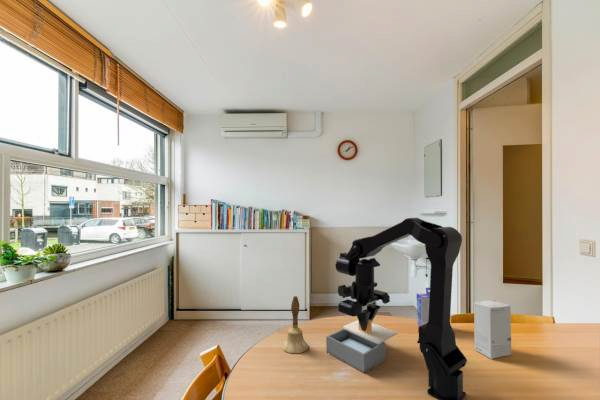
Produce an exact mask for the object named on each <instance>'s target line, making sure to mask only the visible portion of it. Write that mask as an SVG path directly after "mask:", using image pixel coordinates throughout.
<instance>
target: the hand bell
mask: <svg viewBox="0 0 600 400" xmlns="http://www.w3.org/2000/svg"><path fill="white" fill-rule="evenodd" d="M290 309H291V310H290V311H291V314H292V325H291V327H290V328H288V332H287V336H286V340H285V341H284V342H283V344H282V347H281V348H282V350H283V351H284V352H286V353H288V354H295V355H296V354H301V353H305V352H307V351H308V349H309V344H308V343H307V341H305V339H304V335H303V329H302V328H300V327H298V326H299V323H298V322H299V321H298V318H299V314H300V313H299V311H300V301H299V297H298V296H297V295H294V296H293V297H292V301H291V306H290Z"/></svg>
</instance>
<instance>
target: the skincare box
mask: <svg viewBox="0 0 600 400" xmlns="http://www.w3.org/2000/svg"><path fill="white" fill-rule="evenodd" d="M473 311H474V312H473V317H474V321H473V322H474V323H473V325H474V328H473V329H474V330H473V331H474V339H473V340H474V350H475V351H476V352H478V353H480V354H482V355H483V356H485V357H487V358H488V359H489V360H490V359H491V360H493V359H496V358H497V359H498V358H500V357H507V356H512V324H511V323H512V322H511V316H512V315H511V314H512V313H511V305H510V304H507V303H503V302H501V301H497V300H494V299H493V300H482V301H474V302H473Z"/></svg>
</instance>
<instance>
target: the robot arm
mask: <svg viewBox="0 0 600 400" xmlns="http://www.w3.org/2000/svg"><path fill="white" fill-rule="evenodd" d="M410 236H412V237H413V238H414V239H415V240H416V241H417V242H419V243H421V244H423V245H424V247H425V253H426V256H427V258H428V260H429V262H430V276H429V277H430V278H429V279H430V280H429V288H430V290H429V292H430V296H429V317H428V323H426V324H424V325H422V326H420V327H419V328H418V339H417V341H416V343H417V344H419V351H420V353H421V354H422V356H423V358H424V363H425V366H426V368H427V372H428V387H429V388H428V389H427V390H426V391H427V392H426V393H427V394H429V395H430V396H432V397H434V398H436V399H438V400H464V398H465V397H466V395H467V393H466V391H464V378H463V377H464V374H463V373H464V371H463V370H461V369H462V368H464V367H465V366H466V364H467V362H468V359H467V357H466V356H465V355H464V354H463V352H462V350H461V349H460V348H459V347H458V346H457V343H456V335H455V331H454V329H453V327H452V325H451V311H452V310H451V307H452V292H453V291H452V290H453V289H452V288H453V273H454V272H453V269H454V264H455V262H456V260H457V258H458V256H459V254H460V251H461V245H462V243H463V236H462V234H461V232H459V231H458V229H456V228H454V227H452V226H442V225H439V224H436V223H432V222H429V221H426V220H424V219H421V218H419V217H407V218H404V220H402V221H401V222H398V223H397V224H395V225H393V226H391V227H388V228H386V229H384V230H383V231H380V232H378V233H376V234H375V235H371V236H367V237H362V238H357V239H355V240H353V241H352V244H351V247H350V249H349V251H348V252H340V253H339V257H338V258H337V260H336V262H335V265H334V266H335V270H336V271H337V272H338V273H341V274H343V275H346V276H347V275H348V276H350V277H355V278H354V279H355V280H354V281H352V283H351V285H348V286H346V285H345V284H342V285H338V286H337V294H338V296H339V297H342V299H345V300H342V301H340V302H339V303H338V306H337V307H338V312H340V313H342V314H345V315H348V316H350V317H356V318H357V320H359V323H360V326H361V329H362V330H363V331H365V330H366V327H367V323H368V319H370V320H372V322H373V321H374V318H375V317H376V315H377V313H378V311H379V309H381V306H380V305H378V304H377V302H378V301H379V300H381V302H382V303H383V304H385V305H386V304H388V303H390V302H391V301H390V299H391V298H390V294H389V293H388V292H386V291H382V290H379V289H375V288H376V287H378V282H375V268H377V267H380V266H381V263H379V261H378V260H376V258H375V257H374V256H376V255H378V253H380V252H381V251H382V250H383V248H385V247H386V246H390V245H391V244H393V243H396V242H398V241H400V240H403V239H406V238H408V237H410ZM368 257H372V258H369V259H366V258H368ZM349 297H350V299H346V298H349Z"/></svg>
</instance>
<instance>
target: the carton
mask: <svg viewBox="0 0 600 400" xmlns="http://www.w3.org/2000/svg"><path fill="white" fill-rule="evenodd" d="M325 342H326V343H325V345H326V354H328V353H329V354H328V355H330V356H332V357H334V358H335V359H337V360H339V361H341V362H342V363H344V364H346V365H348V366H350V367H352V368H353V369H356V370H357V371H359V372H360V373H363V374H366V373H367V372H368V371H371V370H372V369H374V368H375V367H376V366H378V365H379V364H381V363H383V362H384V361H386V341H384V342H382V343H381V344H379V345H378V344H376V343H374V342H372V341H369V340H367V339H365V338H363V337H360V336H358V335H356V334H353V333H351V332H349V331H347V330H344V329H342V328H341V329H340V330H338V331H335V332H333V333H331V334H328V335H326V340H325Z"/></svg>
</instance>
